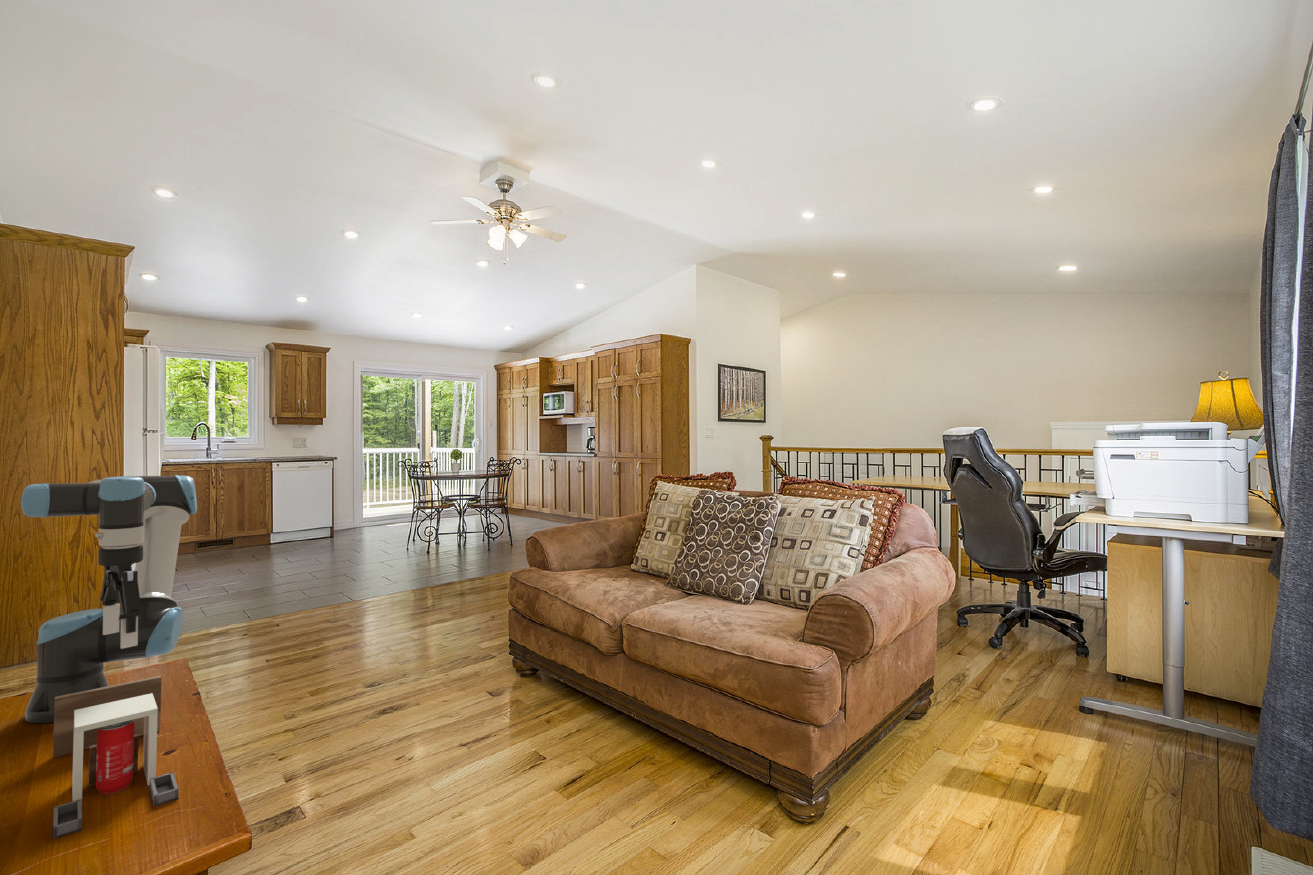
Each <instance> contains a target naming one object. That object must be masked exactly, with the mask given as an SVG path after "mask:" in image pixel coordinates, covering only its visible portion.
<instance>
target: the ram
mask: <svg viewBox="0 0 1313 875" xmlns="http://www.w3.org/2000/svg"><path fill="white" fill-rule="evenodd" d="M151 693H153V696H154V699H155V702H156V705H157V708H158V714H157V732H160V731H161V715H162V713H161V710H162V675H158V676H157V675H156V676H152V677H147V678H141V679H137V680H132V681H127V682H122V683H117V684H112V685H109V686H107V687H102V688H97V689H92V690H87V691H82V692H77V693H72V694H67V695H62V696H57V697H55V704H54V722H53V741H52V742H53V743H52V745H53V747H52V750H53V751H52V759H54V758H58V757H62V756H65V755H70V754H73V739H74V710H77V709H82V708H87V707H91V706H96V705H100V704H105V703H109V702H114V701H119V700H123V699H128V698H132V697H137V696H142V695H146V694H151ZM133 723H134V759H133V774H134V773H138V769H139V740H140V739H139V738H140V736H141V737H142V736H144V717H141V718H137V719H133ZM98 730H99V728H95V729H91V730H87V731H84V741H83V751H85V750H88V749H89V751H88V754H89V755H88V786H93V785H96V757H97V732H98Z"/></svg>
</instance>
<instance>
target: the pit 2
mask: <svg viewBox="0 0 1313 875" xmlns="http://www.w3.org/2000/svg"><path fill="white" fill-rule="evenodd" d="M149 791H150V794H151V795H150V796H151V800H152V804H153V807H156V806H159V805H160V806H161V805H163V804H166V803H170V802H173V801H175V800H178V799H179V787H178V784H177V779H176V776H175V774H174V771H172V772H168V773H165V774H161V775H159V776H156V777H154V778H151V779H150V785H149Z"/></svg>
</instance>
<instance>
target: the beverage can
mask: <svg viewBox="0 0 1313 875" xmlns="http://www.w3.org/2000/svg"><path fill="white" fill-rule="evenodd" d="M133 759H134V723H133V720H129V721H125V722H120V723H116V724H112V725H108V726H104V727H99V730H98V732H97V757H96V784H95V789H96V790H97V791H98V794H100V795H109V794H114V793H118V792H120V791H122V790H125V789H126V788H128V787H129V786H130V785H131V782H132V780H133V778H134V773H133Z"/></svg>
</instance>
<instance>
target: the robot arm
mask: <svg viewBox="0 0 1313 875" xmlns="http://www.w3.org/2000/svg"><path fill="white" fill-rule="evenodd" d="M194 480H195V479H194V478H193V477H192V476H190V475H177V474H173V475H127V476H126V475H125V476H111V477H104V478H102V479H95V480H91V481H89V482H83V483H82V482H81V483H80V482H76V483H75V482H74V483H73V482H72V483H71V482H69V483H67V482H66V483H64V482H62V483H61V482H60V483H58V482H57V483H46V482H44V483H35V484H33V483H32V484H29V485H27V486H26V487H25V488H24V490H23V492H22V494H21V499H20V501H21V502H20V506H21V507H20V508H21V510H22V513H23V515H24V516H26V517H29V518H42V519H44V518H54V517H55V518H56V517H58V518H59V517H75V516H76V517H77V516H99V517H98V532H97V533H95V534H94V535H95V538H98V546H100V548H99V549H98V552H97V564H98V565H100V566H101V567H104V576H103V581H102V586H101V593H100V598H99V600H100V602H102V603H101V604H102V608H90V609H85V610H80V611H74V612H71V613H68V614H67V613H66V614H63V615H60V616H57V617H54V618H51V619H48V620H47V621H45V622H43V623H42V624H41V625H40V626H39V629H38V636H37V637H38V639H37V641H36V645H37V650H36V652H37V656H36V657H37V661H36V685H35V688H34V691H32V694H31V697H30V699H29V701H28V703H27V705H26V708H25V712H24V720H25V722H27V723H29V724H48V723H54V704H55V697H57V696H62V695H67V694H72V693H77V692H82V691H87V690H92V689H97V688H102V687H107V686H110V684H109V682H108V680H107V677H106V674H105V673H104V663H113V662H114V663H115V662H119V661H120V662H121V661H127V660H128V661H129V660H134V659H136V660H137V659H143V658H153V657H155V656H156V657H157V656H162V655H167V654H169V653H170V652H172V651H173V650H174V649H175V647H176V645H177V643H178V642H179V638H180V636H181V632H182V629H183V628H182V627H183V620H184V610H183V608H182V607H180V606H179V607H178V602H177V601H176V600H175V599H174V598H172V594H173V588H174V580H175V574H176V567H177V559H178V553H179V552H178V551H179V545H180V539H181V531H182V525H184V524H186V523H187V522H188V521H189V519H190V516H191V515H194V514H195V515H196V514H197V512H198V502H197V500H198V499H197V493H196V492H197V491H196V485H195V481H194ZM134 564H135V565H134ZM132 565H134V566H135V567H134V570H133V569H132V568H133V567H132Z"/></svg>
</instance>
